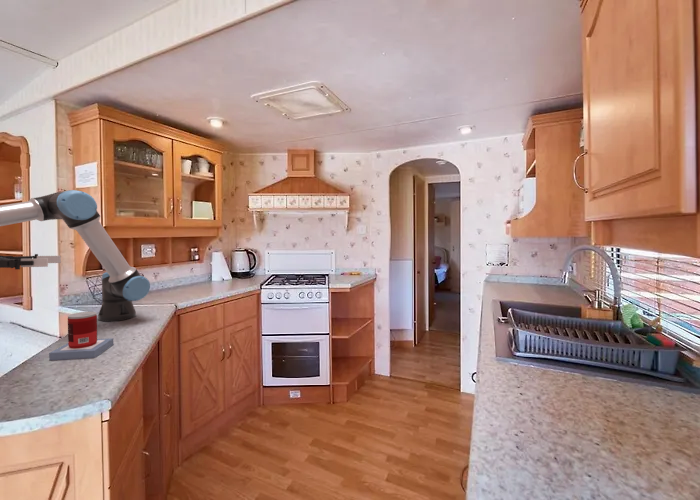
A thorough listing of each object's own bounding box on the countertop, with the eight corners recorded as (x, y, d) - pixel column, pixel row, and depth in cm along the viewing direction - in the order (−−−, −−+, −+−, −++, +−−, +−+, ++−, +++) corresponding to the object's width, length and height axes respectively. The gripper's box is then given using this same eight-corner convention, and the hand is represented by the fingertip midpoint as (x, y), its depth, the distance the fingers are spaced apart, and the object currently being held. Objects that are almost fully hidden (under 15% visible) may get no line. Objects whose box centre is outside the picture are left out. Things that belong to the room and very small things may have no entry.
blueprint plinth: (73, 346, 119) (73, 339, 119) (113, 344, 122) (113, 338, 122) (49, 360, 106) (49, 352, 106) (94, 357, 109) (94, 350, 109)
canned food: (102, 341, 118) (102, 311, 117) (82, 349, 110) (81, 317, 109) (83, 340, 119) (83, 310, 118) (62, 348, 111) (61, 316, 110)
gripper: (-12, 269, 116) (65, 267, 126) (-56, 278, 94) (41, 275, 104) (-12, 248, 116) (64, 248, 126) (-57, 253, 94) (40, 252, 104)
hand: (54, 260), depth 115 cm, fingers open, 13 cm apart
